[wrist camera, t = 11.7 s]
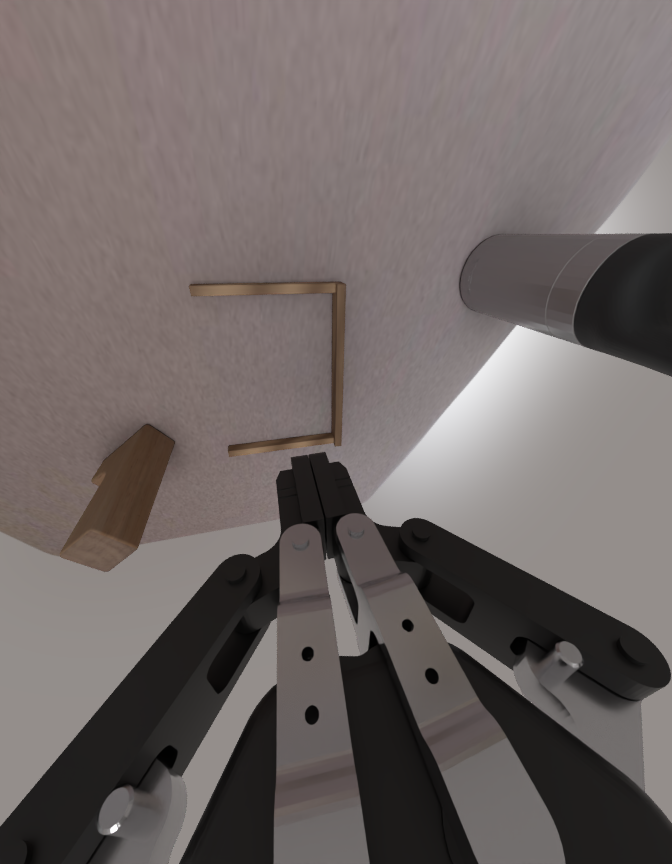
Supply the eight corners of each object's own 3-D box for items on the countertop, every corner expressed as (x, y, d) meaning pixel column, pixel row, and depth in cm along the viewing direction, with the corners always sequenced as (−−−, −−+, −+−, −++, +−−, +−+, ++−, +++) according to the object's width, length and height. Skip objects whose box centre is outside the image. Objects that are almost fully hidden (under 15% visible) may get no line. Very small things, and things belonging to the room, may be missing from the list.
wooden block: (133, 477, 44) (76, 598, 29) (102, 460, 41) (23, 584, 26) (176, 441, 42) (139, 550, 28) (147, 422, 40) (89, 530, 25)
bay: (340, 281, 36) (345, 284, 34) (337, 436, 49) (341, 445, 47) (191, 284, 32) (187, 287, 30) (229, 450, 45) (229, 461, 43)
